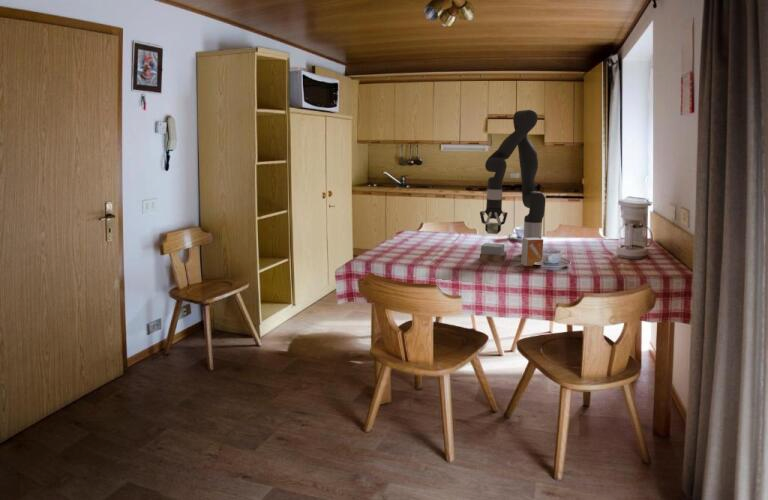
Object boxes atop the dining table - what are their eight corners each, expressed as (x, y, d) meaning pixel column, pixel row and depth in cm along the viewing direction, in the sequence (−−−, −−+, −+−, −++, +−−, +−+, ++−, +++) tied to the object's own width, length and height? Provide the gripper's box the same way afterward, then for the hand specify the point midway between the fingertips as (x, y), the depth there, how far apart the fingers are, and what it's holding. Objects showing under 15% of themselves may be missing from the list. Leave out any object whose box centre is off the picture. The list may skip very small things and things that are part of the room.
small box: (526, 266, 290) (528, 239, 288) (520, 264, 296) (522, 237, 294) (542, 265, 292) (543, 239, 290) (536, 263, 298) (537, 237, 296)
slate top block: (504, 251, 309) (504, 244, 308) (500, 255, 300) (501, 247, 299) (484, 250, 312) (485, 242, 312) (480, 253, 303) (481, 245, 302)
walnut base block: (506, 259, 310) (506, 251, 310) (503, 263, 299) (504, 255, 298) (482, 257, 314) (483, 250, 313) (479, 262, 303) (479, 254, 302)
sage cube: (498, 232, 306) (498, 222, 305) (497, 234, 301) (497, 224, 300) (488, 232, 307) (489, 222, 306) (487, 233, 302) (487, 223, 302)
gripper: (509, 198, 302) (508, 232, 305) (481, 197, 307) (479, 230, 310) (508, 199, 295) (506, 234, 298) (478, 198, 300) (477, 232, 303)
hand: (492, 232), depth 304 cm, fingers closed on sage cube, 5 cm apart
